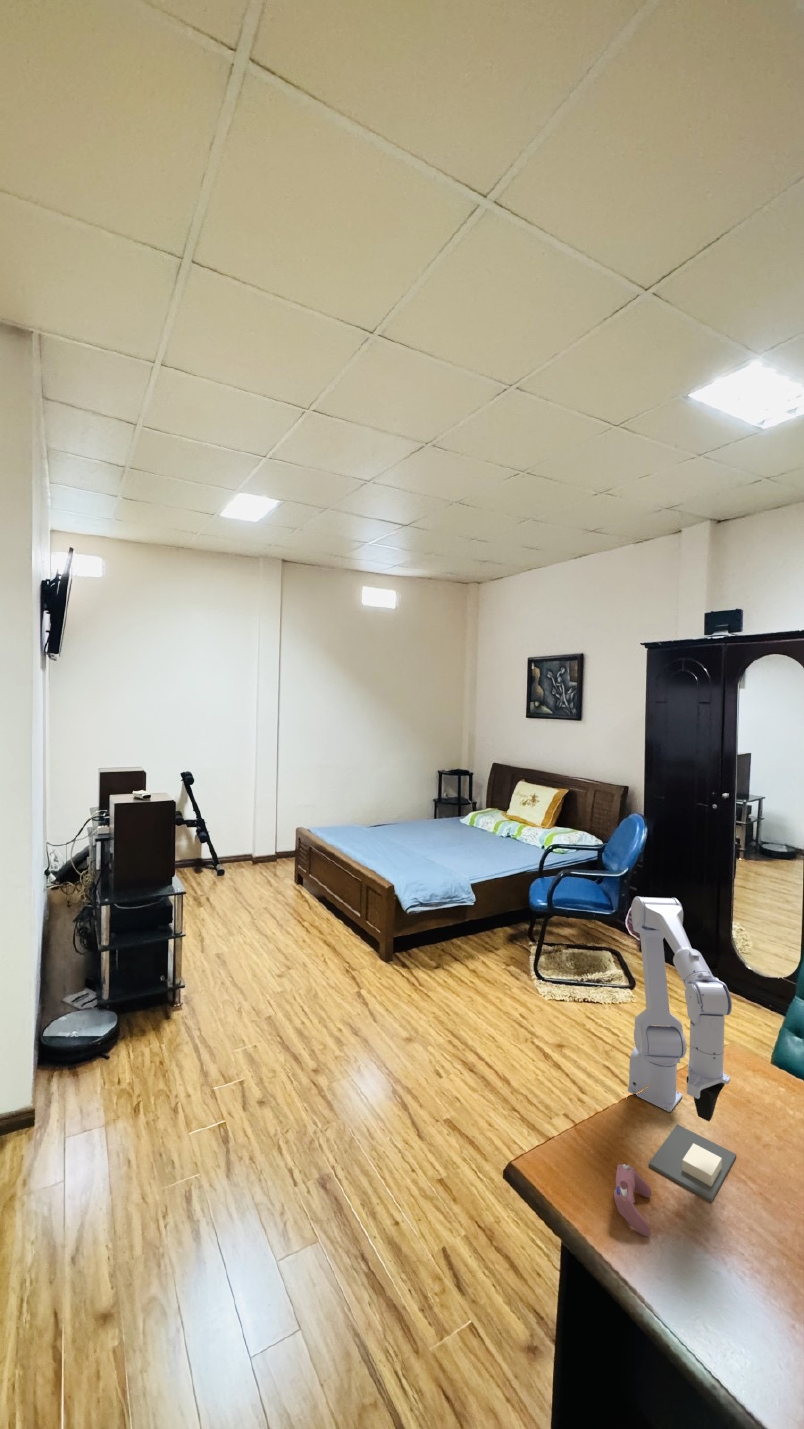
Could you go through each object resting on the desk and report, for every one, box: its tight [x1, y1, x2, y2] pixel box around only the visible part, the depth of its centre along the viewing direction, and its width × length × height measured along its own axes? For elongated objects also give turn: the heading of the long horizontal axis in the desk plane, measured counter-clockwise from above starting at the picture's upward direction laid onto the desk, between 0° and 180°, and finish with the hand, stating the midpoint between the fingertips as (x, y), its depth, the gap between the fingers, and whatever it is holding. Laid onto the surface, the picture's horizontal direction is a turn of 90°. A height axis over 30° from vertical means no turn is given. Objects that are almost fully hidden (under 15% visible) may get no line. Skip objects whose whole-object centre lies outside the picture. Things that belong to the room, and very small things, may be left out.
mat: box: [648, 1123, 737, 1203], centre depth 108 cm, size 11×15×1 cm
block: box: [682, 1143, 722, 1186], centre depth 106 cm, size 5×2×6 cm
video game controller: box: [613, 1163, 653, 1237], centre depth 97 cm, size 10×5×7 cm, turn 155°
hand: (704, 1117), depth 107 cm, fingers closed
